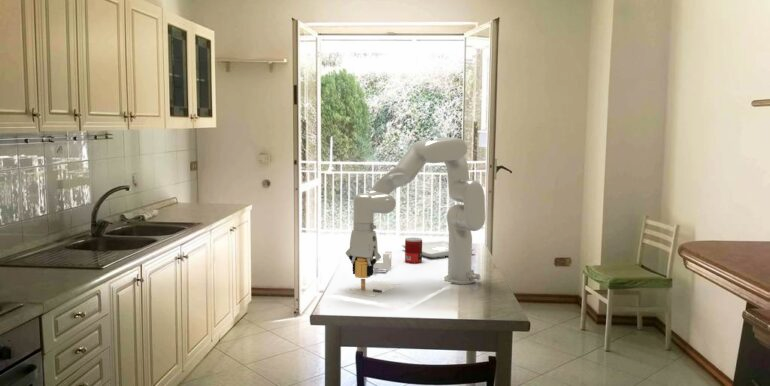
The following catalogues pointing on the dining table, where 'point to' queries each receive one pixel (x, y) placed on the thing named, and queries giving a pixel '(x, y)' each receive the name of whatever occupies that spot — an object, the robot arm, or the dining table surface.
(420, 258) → the canned food
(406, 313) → the dining table surface
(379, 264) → the bracket
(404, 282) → the dining table surface
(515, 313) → the dining table surface
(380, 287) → the junction plate
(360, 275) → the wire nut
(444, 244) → the square plate
